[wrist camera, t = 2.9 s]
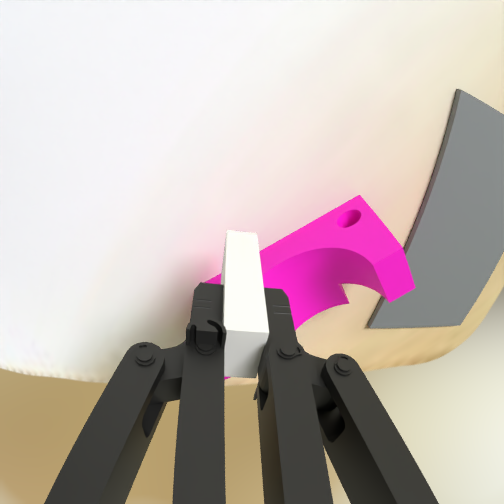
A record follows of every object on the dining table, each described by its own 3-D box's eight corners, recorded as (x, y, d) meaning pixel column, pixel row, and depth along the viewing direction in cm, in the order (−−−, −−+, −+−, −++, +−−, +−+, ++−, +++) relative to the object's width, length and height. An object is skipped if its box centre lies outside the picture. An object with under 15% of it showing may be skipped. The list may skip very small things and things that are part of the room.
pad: (367, 324, 30) (369, 328, 30) (456, 88, 18) (461, 89, 17) (457, 322, 32) (460, 325, 32) (541, 142, 19) (545, 144, 19)
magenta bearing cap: (239, 326, 30) (242, 393, 23) (197, 285, 26) (190, 355, 20) (383, 250, 26) (421, 309, 19) (358, 193, 23) (402, 247, 16)
